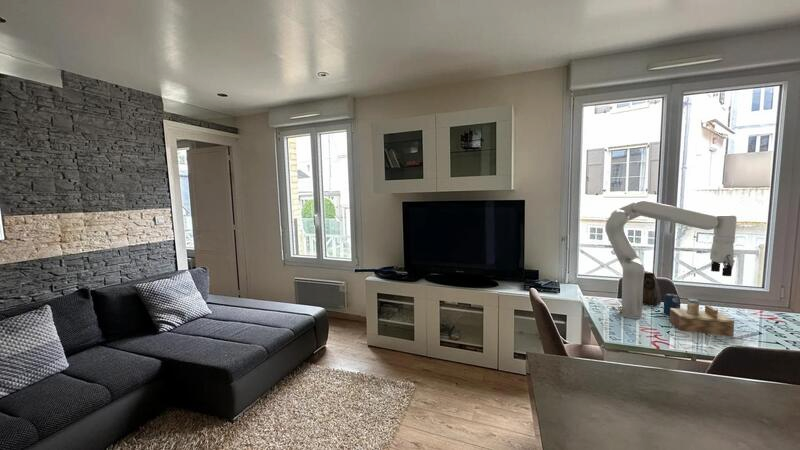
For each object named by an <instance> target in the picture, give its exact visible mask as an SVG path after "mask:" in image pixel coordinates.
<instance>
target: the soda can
mask: <svg viewBox="0 0 800 450" xmlns="http://www.w3.org/2000/svg"><path fill="white" fill-rule="evenodd" d="M670 308H677V309H681V297H680V295H679V294H676V293H672V292H668V293H667V292H666V293H665V294H664V296H663V314H664V315H666V316H670Z"/></svg>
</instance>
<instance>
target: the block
mask: <svg viewBox="0 0 800 450" xmlns="http://www.w3.org/2000/svg"><path fill="white" fill-rule="evenodd" d="M686 307H687V308H686V309H687V313H688V314H691V315H698V314H699V310H700V300H698V299H696V298H687V306H686ZM696 320H697V319H696Z"/></svg>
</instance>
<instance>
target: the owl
mask: <svg viewBox="0 0 800 450" xmlns="http://www.w3.org/2000/svg"><path fill="white" fill-rule="evenodd" d="M644 271H645V272H644V281H643V304H644V303H645V304H644V305H646V304H648V306H651V305H653V306H652V307H658V306H659V305H661V304H660V303H662V295H661V290H660V286H659V284H658V283H659V282H658V279H657V277H656V275H655V273H653V272H650V271H648V270H644Z"/></svg>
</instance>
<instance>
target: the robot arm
mask: <svg viewBox="0 0 800 450" xmlns="http://www.w3.org/2000/svg"><path fill="white" fill-rule="evenodd" d="M640 217H643V218H644V217H645V218H649V219H654V220H658V221H662V222H667V223H671V224H677V225H682V226H687V227H693V228H696V229H701V230H704V231H710V230H713V234H712V235H713V236H712V237H713V238H712V243H711V250H710V254H709V260H711V263H710V264H711V265H710V267H711V268H710V271H711V272H716V273H717V272H719V273H720V270H721V264H722V265H723V267H722V271H721V272H722V274H721V275H722V276H723V277H732V273H733V268H734V265H735V264H734V263H735V262H736V261H735V259H734V255H735V254H734V251H735V250H734V248H735V247H734V244H735V241H736V239H735V238H736V231H737V230H736V229H737V216H736V215H734V214H709V213H703V212H697V211H693V210H689V209H685V208H681V207H678V206H673V205H669V204H663V203H660V202H655V201H649V200H645V199H644V200H643V199H638V200H636V201H634V202H631V203H629V204H627V205H624V206H622V207H620V208H617V209H615V210H613V211H612V212H611V214H610V216H609V217H608V219H607V220H606V223H605V233H606V236H607V238H608V240H609V243H610V245H611V247H612V249H613V250H612V251H613V253H614V254H615V256H616V257H617V258H616V259H617V260H618V263H619V264H620V266H621V268H622V277H621V278H622V279H621V280H622V281H621V304H619V306H614V305H612V306H611V307H610V308H611V310H612V311H613V310H614V311H615V312H617V314H618V315H619V314H620V315H619V316H621V317H623V316H624V318H627V319H632V320H641V318H643V319H644V318H645V317H647V316H646V313H643V304H644V303H643V281H644V272H645V271H646V270H645V266H644V264H643V263H642V261H641V260H640V258H639V256H638V254H637V252H636V250H635V249H634V246H633V244H632V243H631V242H630V240H629V238H628V235H627V233H626V231H625V228H624V227H625V225H626V224H627V223H629V221H631V220H634V219H636V218H640Z"/></svg>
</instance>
